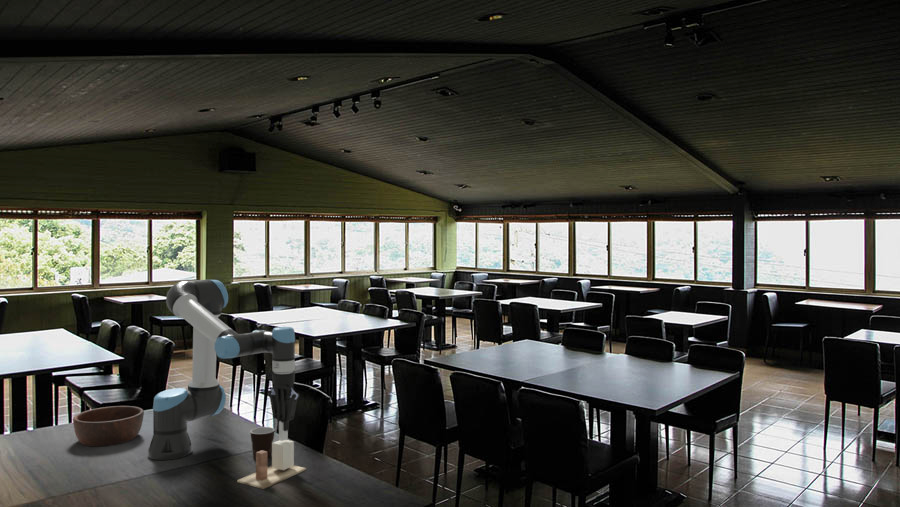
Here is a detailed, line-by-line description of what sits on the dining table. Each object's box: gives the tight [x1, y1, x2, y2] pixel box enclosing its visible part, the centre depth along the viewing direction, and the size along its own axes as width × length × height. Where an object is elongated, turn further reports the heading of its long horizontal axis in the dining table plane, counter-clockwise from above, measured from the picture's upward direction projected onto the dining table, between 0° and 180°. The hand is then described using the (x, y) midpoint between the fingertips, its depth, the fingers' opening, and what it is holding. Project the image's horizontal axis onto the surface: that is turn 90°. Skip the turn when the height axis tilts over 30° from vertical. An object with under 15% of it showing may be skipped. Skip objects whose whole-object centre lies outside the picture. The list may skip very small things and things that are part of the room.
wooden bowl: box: [72, 405, 145, 447], centre depth 253 cm, size 25×25×10 cm
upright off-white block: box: [271, 439, 295, 470], centre depth 219 cm, size 5×5×9 cm
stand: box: [236, 450, 307, 490], centre depth 215 cm, size 12×20×10 cm, turn 151°
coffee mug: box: [250, 426, 276, 461], centre depth 234 cm, size 12×9×10 cm
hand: (283, 439), depth 219 cm, fingers closed
